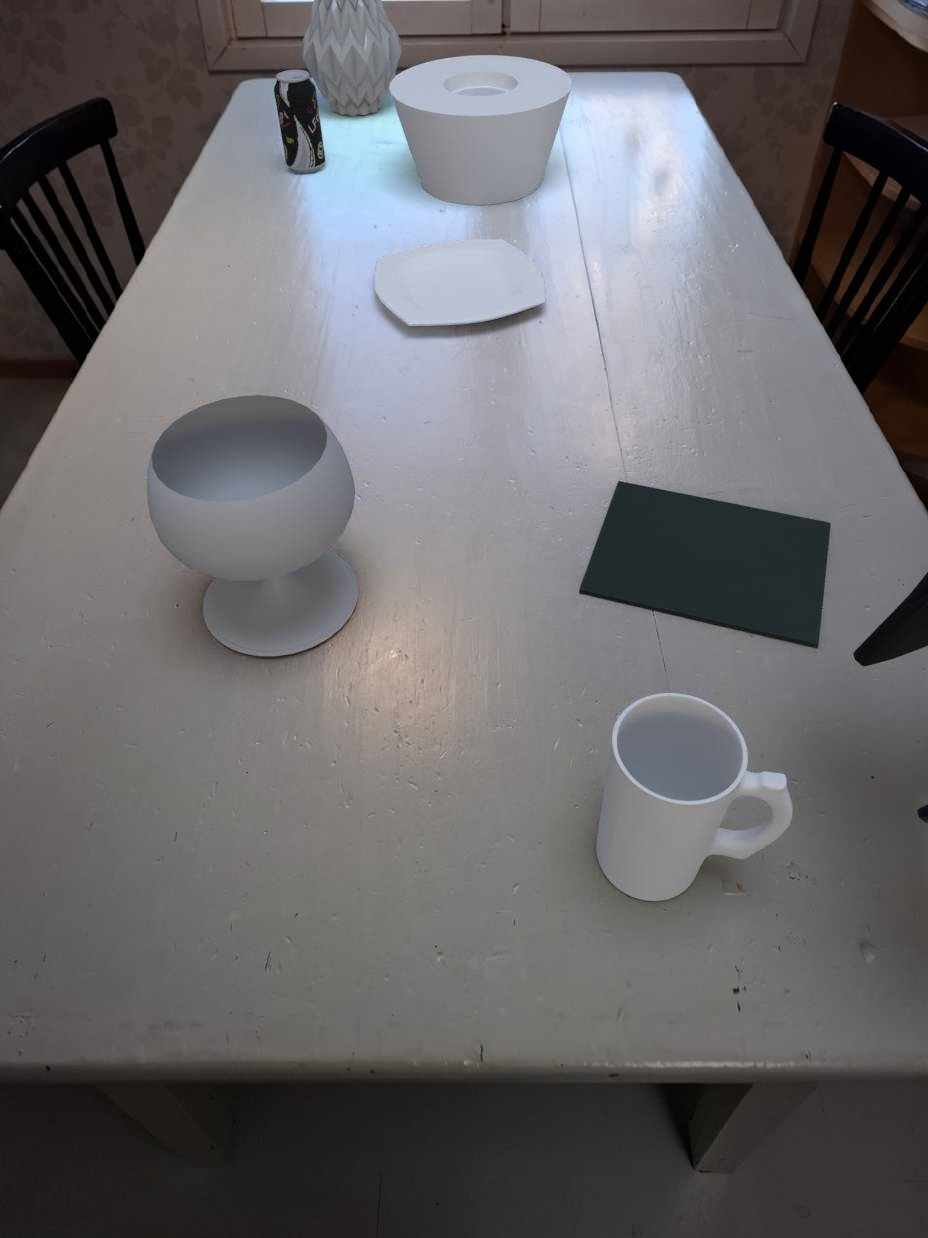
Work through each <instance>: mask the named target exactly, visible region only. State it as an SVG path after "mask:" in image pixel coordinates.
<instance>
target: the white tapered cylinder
mask: <svg viewBox="0 0 928 1238" xmlns="http://www.w3.org/2000/svg"><path fill="white" fill-rule="evenodd" d="M572 87H573V80H572V77H571V76H570V75H569V74H568V73H567V72H565V71H564V70H563V69H561V68H560V67H558V66H555V65H553V64H551V63H549V62H548V63H547V62H544V61H540V60H537V59H532V58H526V57H521V56H512V55H511V56H510V55H497V54H496V55H495V54H480V55H479V54H478V55H477V54H476V55H475V54H474V55H461V56H453V57H447V58H446V57H445V58H439V59H435V60H430V61H426V62H422V63H420V64H415V65H414V66H411V67H409V68H407V69H404V70H403V71H401V72H400V73H398V74H397V75H395V77H394V79H393V80H392V81H391V82H390V86H389V90H390V92H389V93H390V95H391V98H392V102H393V105H394V108H395V111H396V113H397V117H398V120H399V121H400V122H399V123H400V126H401V129H402V132H403V134H404V137H405V141H406V143H407V147H408V149H409V151H410V156H411V158H412V161H413V165H414V167H415V171H416V173H417V176H418V179H419V182H420V184H421V187H422V189H423V190H424V191H425V192H426V193H427V194H429V195H430V196H432V197H434V198H436V199H439V200H441V201H445V202H448V203H452V204H458V205H467V206H491V205H501V204H506V203H509V202H513V201H517V200H521V199H523V198H525V197H527V196H530V195H531V194H532V193H534V192H536V191H537V190H538V188H540V186H541V184H542V181H543V178H544V175H545V172H546V169H547V165H548V162H549V159H550V157H551V153H552V150H553V147H554V144H555V141H556V137H557V134H558V131H559V128H560V125H561V121H562V119H563V116H564V112H565V109H566V106H567V101H568V99H569V96H570V94H571V90H572Z"/></svg>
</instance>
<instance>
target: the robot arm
mask: <svg viewBox="0 0 928 1238" xmlns="http://www.w3.org/2000/svg"><path fill="white" fill-rule="evenodd" d="M926 647H928V571H926V573H925V574H924V575H923V577H922V578H921V579H920V581H919V582H918V583H917V585H915V587H914V588H913V589H912V591H911V592H909V594H908V595H907V596H906V597H905V598H904V600H902V601H901V603H899V605H898V606H897V607H896V608H894V610H893V611H892V612H890V614H889V615H887V617H886V618H885V619H884V620H883V621H882V622H881V623H880V624H879V625H878V626H877V627H876V628H875V630H874V631H872V632H871V633H870V634H869V636H867V638H866V639H864V641H863V642H862V643H861V644H860V645H859V646H858V647H857V648H856V649H855V650H854V651H853V653H852V655H853V659H854V661H856V662H857V663H858V664H859V665H860V666H862V667H869V666H873V665H876V664H877V665H878V664H880V663H883V662H887V661H890V660H891V661H892V660H894V659H897V658H900V657H903V656H905V655H907V654H910V653H913V652H917V651H918V650H921V649H924V648H926ZM916 814H917V816H918V819H919V820H921V821H923V823H925V824H926V825H928V803H927V804H925V805H923V806H921V807H919V808H918V809H917V810H916Z"/></svg>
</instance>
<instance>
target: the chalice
mask: <svg viewBox="0 0 928 1238" xmlns="http://www.w3.org/2000/svg"><path fill="white" fill-rule="evenodd" d="M149 457H150V458H149V461H148V465H147V469H146V471H147V472H146V497H147V506H148V511H149V516H150V520H151V523H152V525H153V527H154V530H155V532H156V533H155V534H157V537H158V539H159V541H160V543H161V544H162V545H163V546H164V548H165V549H166V550H167V551H168V552H169V553H170V554H171V555H172V556H173V557H174V558H175V559H176V560H178V561H179V562H181V563H182V564H183V565H185V567H188V568H189V569H191V570H193V571H196V572H199V573H201V574H203V575H206V576H209V577H212V578H213V580H211V581H212V582H211V583H210V585H209V586H208V588H207V589H206V592H205V595H204V598H203V602H202V615H203V619H204V623H205V626H206V628H207V629H208V630H209V632H210V634H211V635H212V636H213V637H214V638H215V639H216V640H217V641H218V642H219V643H221V644H222V645H223V646H225V647H226V648H229V649H231V650H233V651H236V652H238V653H241V654H246V655H250V656H255V657H280V656H287V655H294V654H296V653H301V652H302V651H306V650H309V649H311V648H313V647H315V646H317V645H319V644H321V643H323V642H324V641H327V640H328V639H330V638H331V637H332V636H333V635H335V634H336V633H337V632H338V631H340V629H342V628H343V626H344V625H345V624H346V623H347V622H348V620H349V619H350V618H351V617H352V614H353V612H354V610H355V608H356V606H357V603H358V598H359V593H360V591H359V584H358V578H357V576H356V574H355V572H354V570H353V568H352V567H351V565H349V563H348V562H347V561H346V560H345V559H344V558H343V557H341V556H340V555H338V554H336V553H335V552H334V551H332V550H330V548H331V547H333V545H334V544H335V543H336V542H337V540H338V539H339V538H340V537H341V536H342V535H343V534H344V532H345V530H346V528H347V525H348V524H349V522H350V519H351V517H352V514H353V510H354V507H355V498H356V488H355V480H354V476H353V472H352V469H351V466H350V462H349V459H348V457H347V454H346V452H345V450H344V448H343V446H342V444H341V442H340V440H339V439H338V438H337V436H336V434H335V433H334V432H333V430H332V428H330V426H329V424H327V422H325V420H324V419H323V418H322V417H321V416H320V415H319V414H317V413H316V412H315V411H313V410H312V409H311V408H310V407H308V406H307V405H304V404H302V403H300V402H297V401H295V400H293V399H289V398H285V397H282V396H281V397H280V396H275V395H262V394H254V395H239V396H233V397H227V398H221V399H218V400H215V401H212V402H209V403H205V404H204V405H201V406H199V407H197V408H195V409H192V410H190V411H188V412H186V413H185V414H183V415H182V416H180V417H179V418H177V419H176V420H174V421H173V422H172V423H171V424H170V425H169V426H167V428H166V429H164V431H162V433H161V435H160V436H159V437H158V439H157V440H156V442H155V443H154V446H153V449H152V452H151V454H150V456H149Z"/></svg>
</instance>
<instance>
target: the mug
mask: <svg viewBox="0 0 928 1238" xmlns="http://www.w3.org/2000/svg"><path fill="white" fill-rule="evenodd" d="M608 756H609V757H608V762H607V770H606V776H605V783H604V784H605V785H604V791H603V796H602V803H601V809H600V815H599V822H598V829H597V837H596V845H595V847H596V850H595V852H596V857H597V861H598V864H599V867H600V869H601V871H602V873H603V874H604V876H605V877H606V879H607V880H608V882H610V883H611V884H612V886H614V887H615V888H616V889H618V890H619V891H620V892H622V893H623V894H626V895H627V896H629V897H631V898H635V899H637V900H641V901H645V902H646V901H647V902H662V901H667V900H670V899H674V898H675V897H677V896H679V895H681V894H682V893H684V892H685V891H686V890H687V889H688V888H689V887H690V886H691V884H693V882H694V880H695V878H696V876H697V875H698V872H699V870H700V868H701V866H702V865H703V863H704V860H705V859H706V858H707V857H709V856H713V855H715V856H716V855H717V856H724V857H725V856H726V857H729V858H733V859H737V860H746V859H748V858H749V857H751V856H752V855H754V854H755V853H757V852H759V851H761V850H762V849H764V848H766V847H767V846H769V845H770V844H772V843H773V842H775V841H776V840H778V839H779V838H780V837H781V836H782V835H783V834H784V833H785V832H786V831H787V830H788V828H789V827H790V825H791V823H792V819H793V814H794V810H793V803H792V797H791V795H790V791H789V789H788V785H787V783H788V782H787V781H788V780H787V779H788V778H787V775H786V774H784V773H782V772H774V771H767V770H764V771H760V772H753V771H749V770H747V768H748V763H749V751H748V747H747V744H746V740H745V738H744V736H743V734H742V732H741V730H740V729H739V727H738V725H737V724H736V723H735V722H734V720H733V719H731V717H730V716H729V715H728V714H727V713H725V712H724V711H723V710H722V709H720V708H719V707H717V706H716V705H714V704H712V703H710V702H709V701H707V700H705V699H702V698H699V697H697V696H693V695H689V694H685V693H678V692H661V693H654V694H650V695H647V696H644V697H642V698H639V699H637V700H636V701H633V702H632V703H631V704H629V705H628V706H627V707H626V708H625V709H623V711H622V712H621V713H620V714H619V716H618V717H617V719H616V721H615V723H614V725H613V728H612V734H611V744H610V749H609V755H608ZM739 797H751V798H756V799H759V800H762V801H763V802H765V803H766V804H767V805H768V806H769V808H770V810H771V813H770V815H769V816H768V818H767V819H766V820H764V821H763V822H762V823H761V824H759V825H757V826H755V827H752V828H747V829H740V830H738V829H737V830H735V829H729V828H724V827H721V824H722V822H723V821H724V818H725V815H726V813H727V812H728V810H729V807H730V805H731V803H732V802H733V801H734V800H735V799H737V798H739Z"/></svg>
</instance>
